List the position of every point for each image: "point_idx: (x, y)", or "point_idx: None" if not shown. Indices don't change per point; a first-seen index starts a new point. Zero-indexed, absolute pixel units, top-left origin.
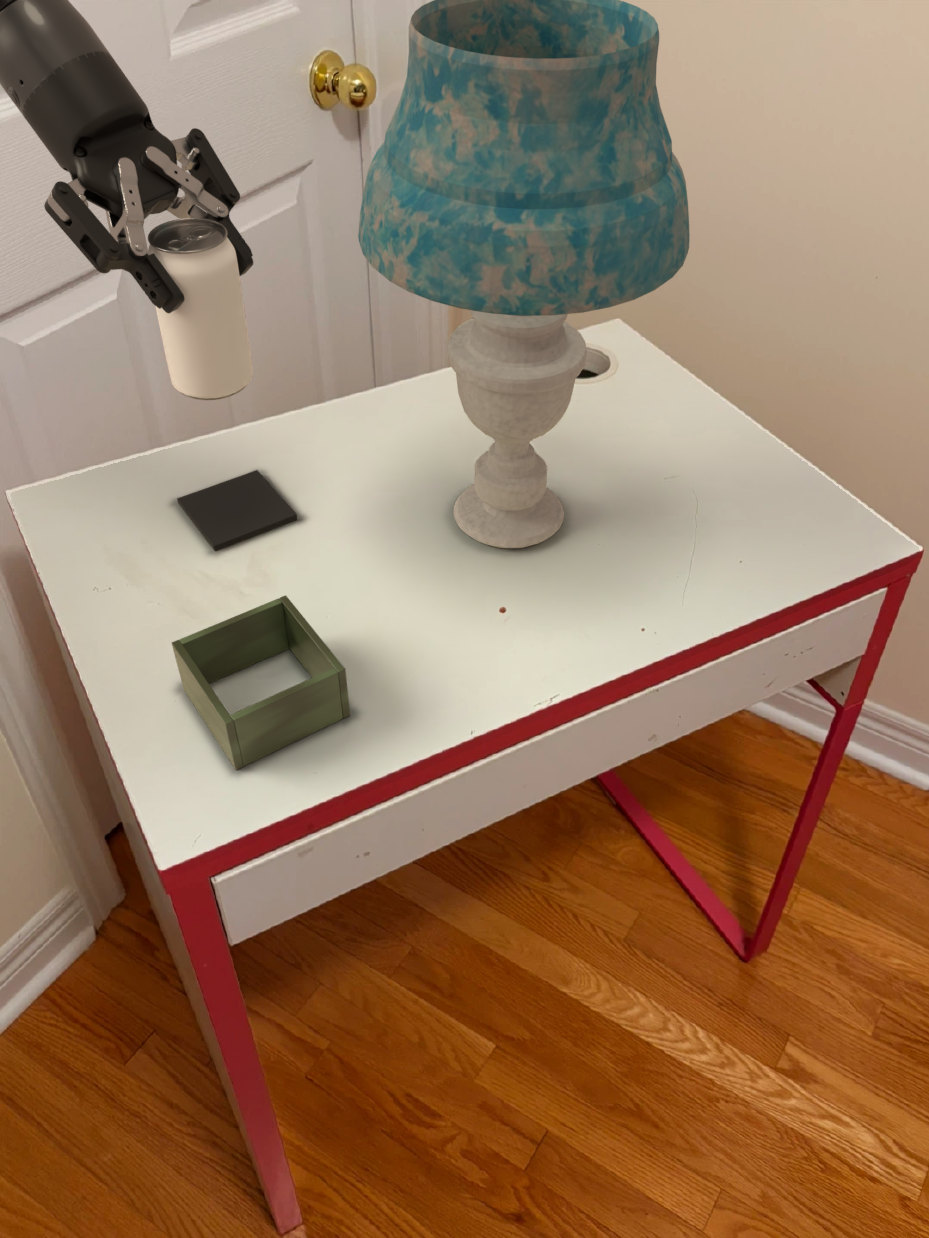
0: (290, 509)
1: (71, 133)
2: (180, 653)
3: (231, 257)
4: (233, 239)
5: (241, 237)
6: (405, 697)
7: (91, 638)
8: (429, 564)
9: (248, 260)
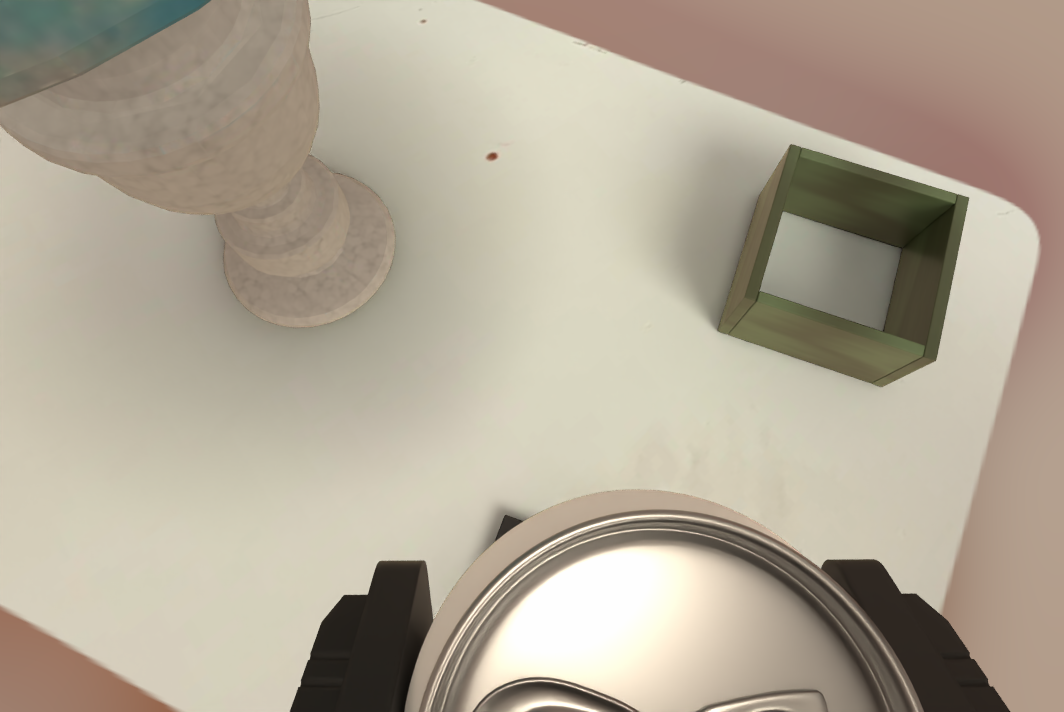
0: (501, 533)
1: None
2: (939, 333)
3: (552, 509)
4: (382, 665)
5: (304, 686)
6: (692, 163)
7: (922, 579)
8: (471, 280)
9: (401, 566)
